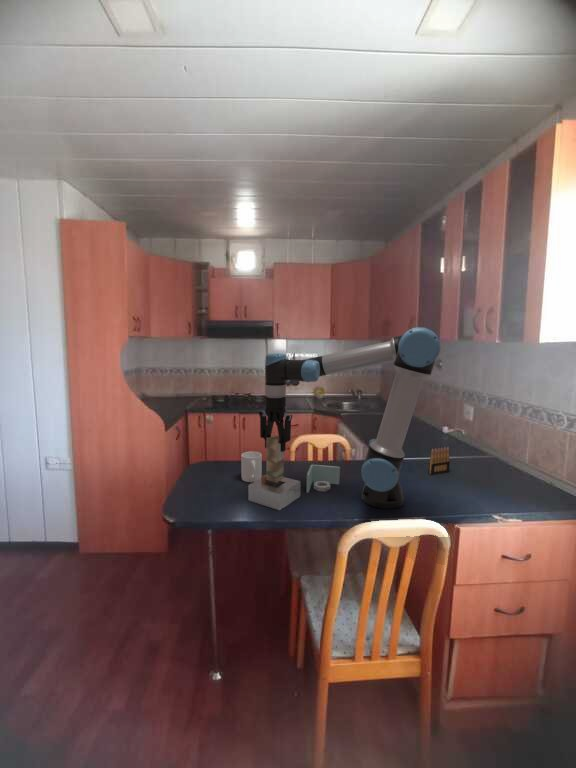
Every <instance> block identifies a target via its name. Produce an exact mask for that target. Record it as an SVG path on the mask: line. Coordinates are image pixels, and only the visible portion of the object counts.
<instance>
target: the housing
mask: <svg viewBox="0 0 576 768" xmlns="http://www.w3.org/2000/svg"><path fill="white" fill-rule="evenodd" d="M247 487H248V498H247V499H248V501H249V502H252V503H255V504H259V505H261V506H265V507H268V508H270V509H274V510H277V511H281V510H282V508H283V509H284V508H285V507H287V506H288V505H290V504H291V503H293V502H294V501H296V500H298V498H300V497H301V481H300V480H297V479H293V478H289V477H285V476H283V479H282V480H280V481H278V482H277V483H276V482H272V481H268V480H266V473H265V474H262V476H261V479H259V480H257V481H255V482H250V484H248V486H247Z"/></svg>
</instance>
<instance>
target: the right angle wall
mask: <svg viewBox="0 0 576 768" xmlns="http://www.w3.org/2000/svg"><path fill="white" fill-rule="evenodd" d="M340 472H341V467H340V466H336V465H335V466H333V465H323V464H322V465H321V464H311V465H310V466H309V469H308V471H307V472H306V488H305V489H306V493H310V490H311V487H312V485H313V487H312V488H313V489H314V490H316V491H318V492H323V493H324V492H327V491H330V490H331V485H340V477H341V476H340V474H341V473H340Z"/></svg>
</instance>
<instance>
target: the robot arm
mask: <svg viewBox="0 0 576 768" xmlns="http://www.w3.org/2000/svg"><path fill="white" fill-rule="evenodd" d="M440 352H441V341H440V339H439V337H438V334H436V333H435V332H434V331H433V330H431V329H430V328H427V327H421V326H418V327H413V328H410V329H409V330H407V331H406V332H404V333H403V334H401V335H398V336H397V335H396V336H393V337H392V338H391V339H390V340H389V341H385V342H380V343H379V342H378V343H374V344H370V345H364V346H361V347H357V348H352V349H346V350H342V351H338V352H333V353H329V354H324V355H319V356H315V357H310V358H306V359H288V358H287V354H285V353H276V352H275V353H267V354H266V355H265V360H264V361H265V364H264V371H265V373H264V374H265V377H264V379H265V382H264V395H265V397H264V405H265V409H264V410H261V411H259V412H258V415H259V418H260V419H259V420H260V422H259V424H260V425H259V428H260V430H259V433H260V438H261V439H264V449H265V450H266V451H265V452H266V455H265V456H266V459H267V438H268V437H271V436H272V433H273V428H274V423H275V425H276V428H277V433H278V436H279V439H280V442H279V443H278V461H280V460H282V459H283V460H285V456H284V455H285V452H286V443H288V442H290V441H291V439H292V438H291V433H292V432H291V431H292V430H291V429H292V419H293V414H288V413H287V411H286V406H287V404H286V403H287V399H286V395H287V393H286V392H287V391H286V390H287V389H286V387H287V381H288V382H291V381H292V382H305V383H315V382H318V380H319V379H320V377H324V376H329V375H334V374H338V373H339V374H340V373H344V372H349V371H355V370H359V369H365V368H370V367H376V366H380V365H386V364H390V363H393V367H394V369H395V371H396V373H395V376H394V380H393V382H392V386H391V389H390V392H389V396H388V399H387V403H386V406H385V410H384V412H383V415H382V419H381V422H380V426H379V428H378V432H377V435H376V438H371V439H370V440H369V441H368V444H367V445H368V447H367V448H368V450H367V453H366V456H365V459H364V462H363V464H362V466H361V468H360V469H361V470H360V471H361V478H362V480H363V482H364V486H363V488H362V492H361V500H363V502H364V503H366V504H367V505H369V506H372V507H374V508H379V509H386V510H387V509H388V510H389V509H391V510H392V509H397V508H400V507H402V505H404V500H405V499H404V498H405V497H404V493H403V490H402V486H401V482H400V481H401V480H400V477H401V468H402V466H403V463H404V459H405V457H406V454H405V452H404V450H403V446H404V442H405V440H406V437H407V433H408V430H409V427H410V424H411V420H412V417H413V416H414V415H413V414H414V412H415V408H416V405H417V403H418V399H419V395H420V392H421V389H422V386H423V383H424V381H425V379H427V378H428V377H430V376H431V375H432V372H433V369H434V366H435V364H436V363H435V362H436V360H437V358H438V357H439V355H440Z"/></svg>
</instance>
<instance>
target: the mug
mask: <svg viewBox="0 0 576 768" xmlns="http://www.w3.org/2000/svg"><path fill="white" fill-rule="evenodd" d="M240 457H241V459H240V462H241V466H240V468H241V475H240V476H241V480H242V481H243V482H246V483H253V482H255V481H257V480H259V479H261V476H263V474H262V473H263V472H262V469H263V468H262V463H263V461H262V460H263V459H262V453H261V452H260V451H245V452H243V453H241V456H240Z"/></svg>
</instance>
